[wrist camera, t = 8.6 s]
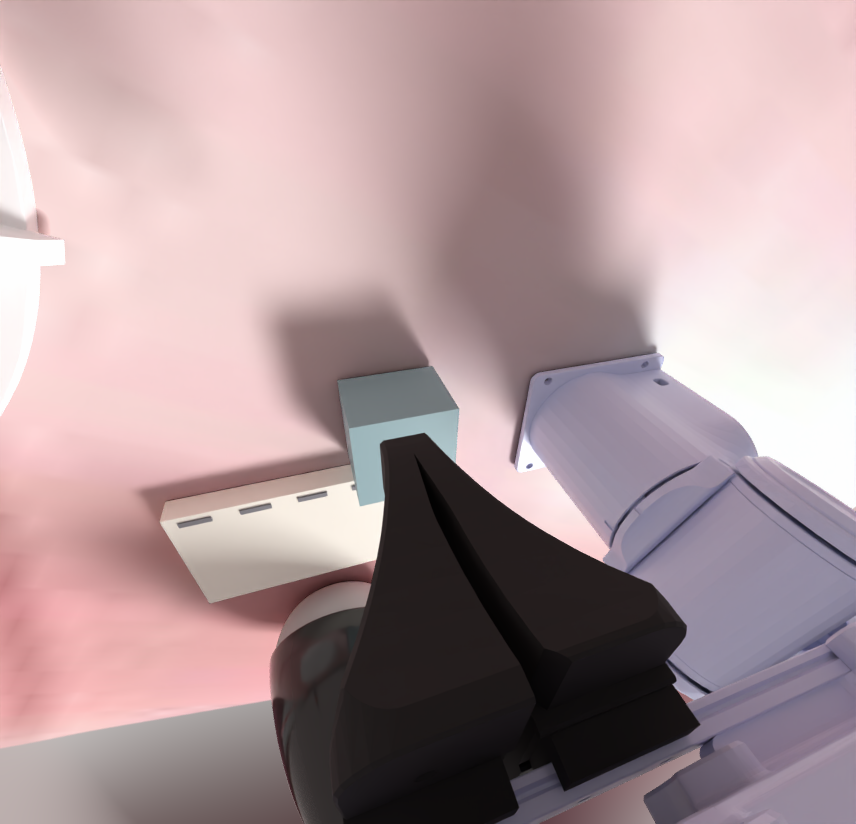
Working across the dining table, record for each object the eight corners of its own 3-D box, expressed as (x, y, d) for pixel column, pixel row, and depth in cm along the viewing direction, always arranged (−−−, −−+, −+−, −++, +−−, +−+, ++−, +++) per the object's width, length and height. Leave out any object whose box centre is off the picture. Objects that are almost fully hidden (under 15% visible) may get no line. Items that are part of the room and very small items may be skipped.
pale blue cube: (432, 366, 21) (459, 408, 18) (431, 438, 24) (454, 484, 21) (337, 380, 20) (348, 428, 17) (348, 454, 23) (359, 506, 20)
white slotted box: (432, 447, 25) (440, 463, 24) (430, 528, 30) (437, 544, 29) (165, 501, 21) (159, 523, 20) (212, 583, 26) (209, 605, 25)
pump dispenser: (242, 595, 28) (221, 941, 16) (386, 543, 29) (460, 827, 18) (295, 652, 34) (307, 929, 23) (411, 607, 36) (477, 845, 24)
